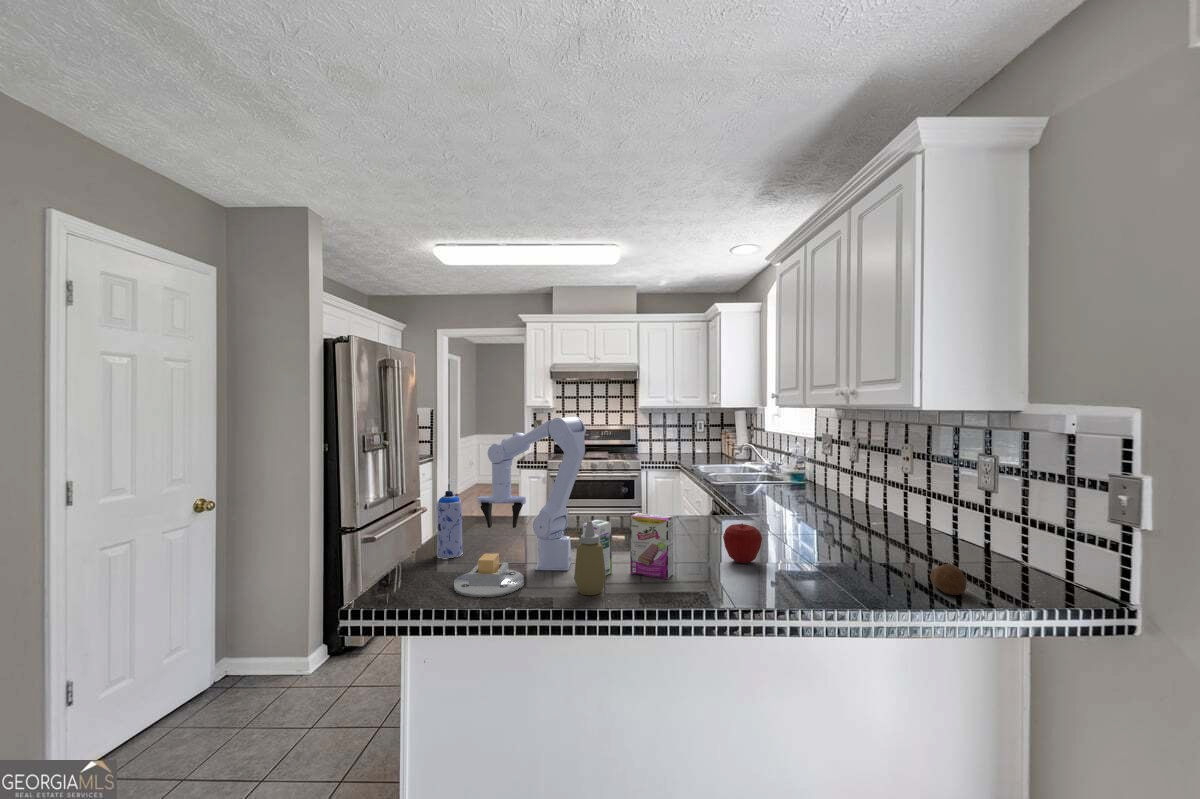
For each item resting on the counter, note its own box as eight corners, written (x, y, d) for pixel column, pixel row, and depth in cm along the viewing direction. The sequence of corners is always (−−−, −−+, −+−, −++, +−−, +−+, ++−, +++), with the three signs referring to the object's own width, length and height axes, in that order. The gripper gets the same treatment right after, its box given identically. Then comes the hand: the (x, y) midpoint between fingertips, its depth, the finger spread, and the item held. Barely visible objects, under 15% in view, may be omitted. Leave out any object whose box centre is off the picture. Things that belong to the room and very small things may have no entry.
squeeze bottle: (582, 600, 140) (582, 526, 140) (569, 589, 147) (568, 519, 147) (611, 594, 144) (611, 522, 143) (597, 584, 151) (596, 516, 150)
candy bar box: (629, 574, 159) (629, 515, 158) (636, 569, 163) (635, 512, 163) (668, 580, 154) (668, 519, 153) (674, 574, 158) (673, 515, 158)
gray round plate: (529, 574, 159) (529, 558, 159) (516, 598, 142) (515, 580, 141) (465, 573, 161) (465, 557, 160) (444, 597, 143) (444, 579, 142)
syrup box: (599, 578, 155) (599, 525, 155) (583, 574, 159) (582, 522, 159) (612, 573, 160) (611, 521, 160) (595, 569, 163) (595, 518, 163)
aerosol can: (435, 553, 180) (434, 490, 180) (460, 550, 183) (459, 488, 183) (439, 560, 173) (438, 494, 172) (465, 557, 176) (464, 492, 176)
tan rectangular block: (499, 575, 154) (499, 553, 154) (493, 583, 148) (493, 560, 148) (484, 575, 154) (484, 553, 154) (478, 583, 148) (478, 560, 148)
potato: (947, 584, 149) (948, 557, 149) (977, 598, 139) (977, 570, 139) (922, 585, 149) (922, 558, 149) (949, 599, 138) (949, 571, 138)
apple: (720, 565, 166) (720, 525, 166) (726, 555, 176) (726, 517, 176) (759, 569, 162) (759, 528, 162) (764, 559, 172) (763, 520, 171)
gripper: (474, 484, 171) (475, 530, 171) (522, 485, 170) (523, 530, 170) (480, 481, 178) (481, 524, 178) (527, 481, 177) (527, 524, 178)
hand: (502, 527), depth 175 cm, fingers open, 7 cm apart
